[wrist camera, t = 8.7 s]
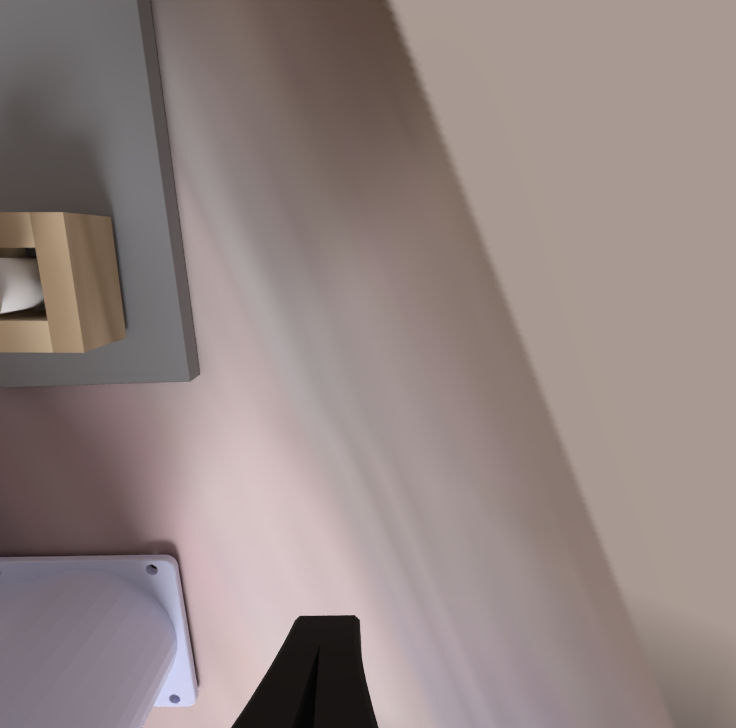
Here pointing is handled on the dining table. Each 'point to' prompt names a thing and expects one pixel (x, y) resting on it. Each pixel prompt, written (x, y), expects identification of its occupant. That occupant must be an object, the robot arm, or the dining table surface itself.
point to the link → (64, 283)
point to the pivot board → (94, 179)
